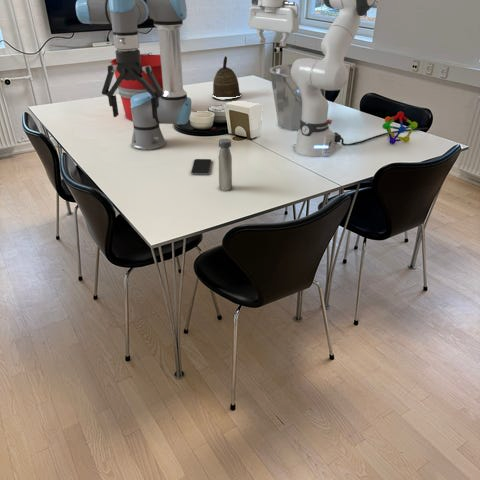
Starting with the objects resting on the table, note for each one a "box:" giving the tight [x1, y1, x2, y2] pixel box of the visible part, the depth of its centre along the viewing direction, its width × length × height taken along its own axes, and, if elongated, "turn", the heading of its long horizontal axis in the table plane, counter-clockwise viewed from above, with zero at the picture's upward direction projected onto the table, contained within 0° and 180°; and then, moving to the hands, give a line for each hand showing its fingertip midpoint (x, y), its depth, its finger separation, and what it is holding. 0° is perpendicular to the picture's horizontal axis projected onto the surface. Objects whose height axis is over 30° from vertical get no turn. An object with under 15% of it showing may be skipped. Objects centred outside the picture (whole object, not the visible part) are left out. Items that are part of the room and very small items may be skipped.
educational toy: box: [382, 110, 418, 145], centre depth 207 cm, size 16×13×15 cm
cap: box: [218, 137, 232, 149], centre depth 158 cm, size 4×4×2 cm
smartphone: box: [190, 158, 212, 176], centre depth 184 cm, size 7×1×15 cm
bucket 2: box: [269, 63, 326, 131], centre depth 226 cm, size 30×30×28 cm
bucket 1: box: [107, 51, 163, 122], centre depth 239 cm, size 35×35×30 cm
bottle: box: [218, 148, 233, 192], centre depth 162 cm, size 5×5×18 cm
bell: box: [212, 56, 242, 97], centre depth 278 cm, size 19×26×20 cm
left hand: (135, 116), depth 150 cm, fingers open, 13 cm apart
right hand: (272, 44), depth 157 cm, fingers open, 8 cm apart
